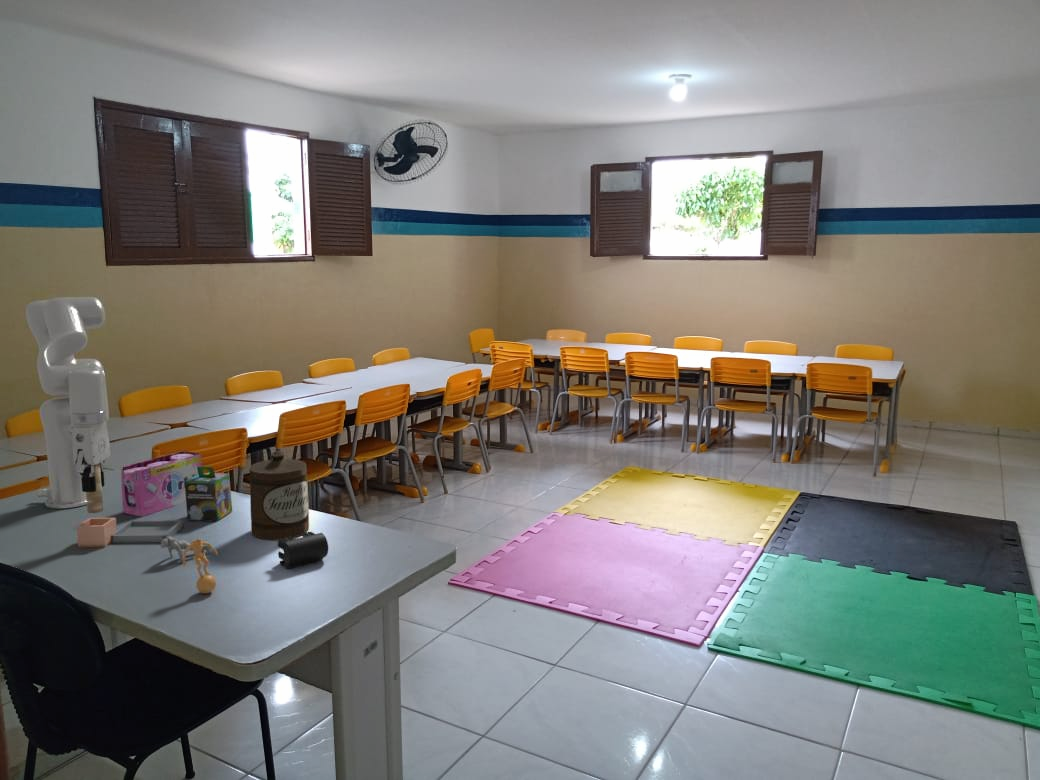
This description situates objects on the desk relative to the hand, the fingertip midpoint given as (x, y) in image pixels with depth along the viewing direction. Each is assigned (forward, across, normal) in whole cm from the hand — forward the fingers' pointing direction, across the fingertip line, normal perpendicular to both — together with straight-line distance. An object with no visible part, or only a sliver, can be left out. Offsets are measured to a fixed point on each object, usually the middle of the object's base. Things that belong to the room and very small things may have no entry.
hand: (93, 488), depth 197 cm
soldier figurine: (+14, -11, -26) cm, 32 cm away
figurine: (+13, -32, -37) cm, 51 cm away
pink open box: (+14, -1, 0) cm, 14 cm away
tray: (+14, +5, -10) cm, 19 cm away
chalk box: (+15, +20, -22) cm, 33 cm away
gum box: (+15, +32, -5) cm, 35 cm away
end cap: (+14, -16, -56) cm, 59 cm away
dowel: (+6, 0, 0) cm, 6 cm away
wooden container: (+14, +8, -44) cm, 47 cm away
